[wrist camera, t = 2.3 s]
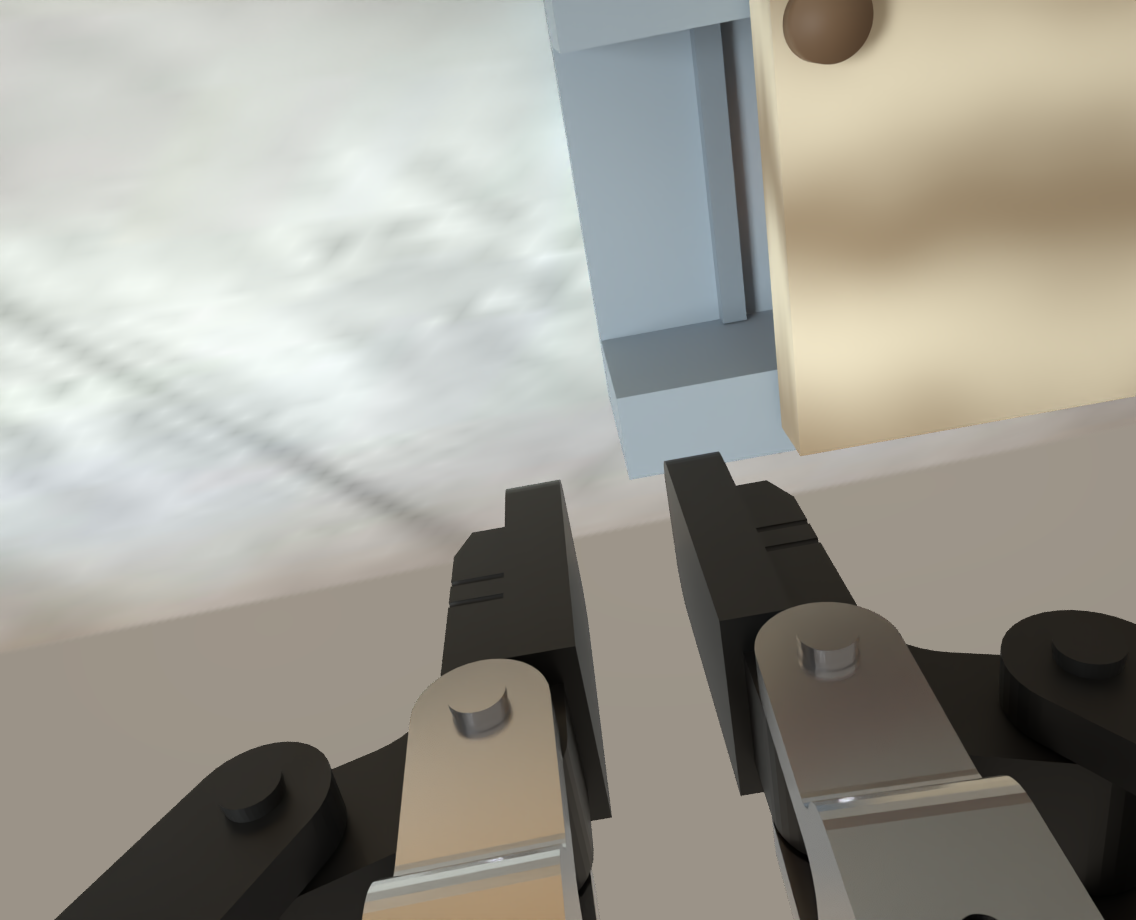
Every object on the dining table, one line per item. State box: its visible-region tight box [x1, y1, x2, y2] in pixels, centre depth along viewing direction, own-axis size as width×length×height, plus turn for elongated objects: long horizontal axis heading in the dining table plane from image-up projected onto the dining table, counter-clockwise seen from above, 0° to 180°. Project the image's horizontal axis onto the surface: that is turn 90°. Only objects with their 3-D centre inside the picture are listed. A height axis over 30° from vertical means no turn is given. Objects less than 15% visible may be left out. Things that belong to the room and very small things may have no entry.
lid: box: [749, 0, 1136, 456], centre depth 23 cm, size 13×10×3 cm
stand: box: [544, 0, 796, 480], centre depth 27 cm, size 15×27×7 cm, turn 100°
